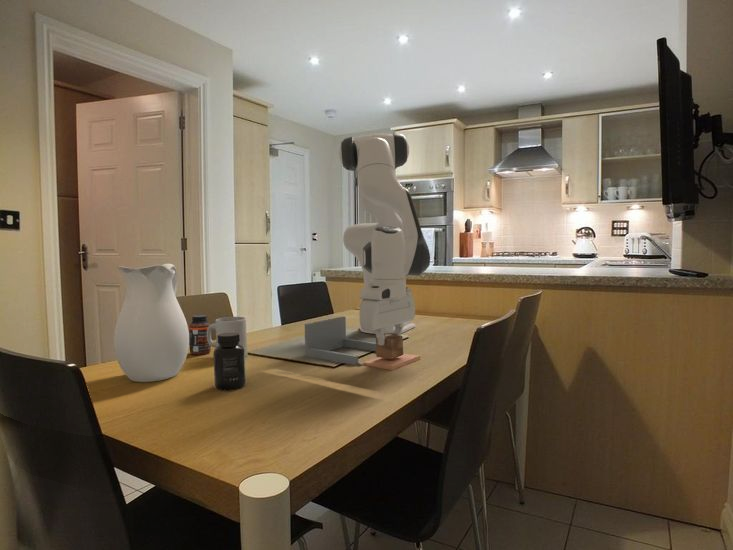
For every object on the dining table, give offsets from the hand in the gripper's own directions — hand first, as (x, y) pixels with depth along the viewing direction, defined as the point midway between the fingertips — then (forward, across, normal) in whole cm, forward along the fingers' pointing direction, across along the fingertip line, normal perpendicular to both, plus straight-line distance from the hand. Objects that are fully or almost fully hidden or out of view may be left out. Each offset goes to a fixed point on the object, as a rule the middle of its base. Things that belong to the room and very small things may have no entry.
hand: (389, 342), depth 123 cm
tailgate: (+5, 0, -4) cm, 6 cm away
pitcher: (+6, +38, -45) cm, 59 cm away
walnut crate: (+4, 0, 0) cm, 4 cm away
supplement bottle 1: (+6, +20, -55) cm, 59 cm away
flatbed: (+6, 0, -14) cm, 15 cm away
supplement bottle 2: (+6, +35, -20) cm, 41 cm away
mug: (+6, +18, -45) cm, 49 cm away
